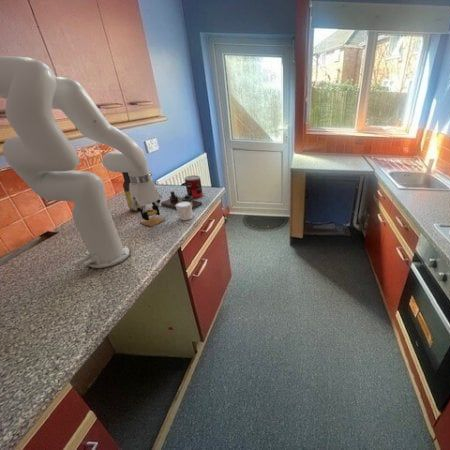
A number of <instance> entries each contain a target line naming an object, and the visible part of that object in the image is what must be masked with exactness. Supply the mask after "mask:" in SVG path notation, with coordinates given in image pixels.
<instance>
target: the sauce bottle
mask: <svg viewBox="0 0 450 450" xmlns="http://www.w3.org/2000/svg"><path fill="white" fill-rule="evenodd" d="M121 175H122V177H123V183H122V187H123V192H124V196H125V199H126V203H127V206H128V208H129V211H130V212H135V213H136V212H138V211H137V210H134V209H131V205H132V200H131V196H130V190H129V183H131V181H130V178H129V174H128V172H121ZM136 207H137V208H138V205H137V206H136Z"/></svg>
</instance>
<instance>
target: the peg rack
mask: <svg viewBox="0 0 450 450" xmlns="http://www.w3.org/2000/svg"><path fill="white" fill-rule="evenodd" d="M169 193H170V196H169V197H168V198H169V199H166V200H163V201H162V202H161V201H160V205H161V206H163V207H167V208H170V209H175V210H177V209H176V206H175V205H176V204H177V203H179V202H185V201H182V197H181V196H178V195H177V194H175V191H174V190H171V191H170V192H169ZM184 197H185V198H186V199H189V195H188V194H184ZM187 202H191V205H192V211H193V210H194V209H197V208H198V207H200V206H202V205H203V202H202V201H198V200H194V199H193V200H191V201H187Z"/></svg>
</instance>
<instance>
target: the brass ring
mask: <svg viewBox="0 0 450 450" xmlns="http://www.w3.org/2000/svg"><path fill="white" fill-rule="evenodd" d="M145 212H147V214H148V217H150V216H152V217H153V216H155V214H157V210H156V209H152V208H148V209H145Z"/></svg>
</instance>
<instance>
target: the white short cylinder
mask: <svg viewBox="0 0 450 450" xmlns="http://www.w3.org/2000/svg"><path fill="white" fill-rule="evenodd" d="M175 206H176V209H175V210H176V212H177V214H178V217H179V220H181V221H188V220H191V219H192V218H193V210H192V205H191V202H186V201H185V202H179V203H177V204H176V205H175Z"/></svg>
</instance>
